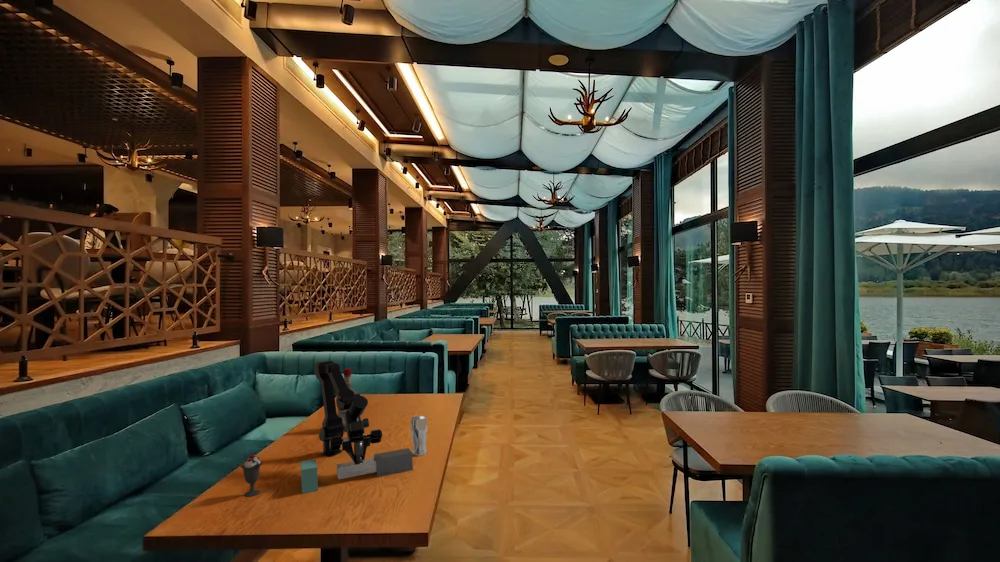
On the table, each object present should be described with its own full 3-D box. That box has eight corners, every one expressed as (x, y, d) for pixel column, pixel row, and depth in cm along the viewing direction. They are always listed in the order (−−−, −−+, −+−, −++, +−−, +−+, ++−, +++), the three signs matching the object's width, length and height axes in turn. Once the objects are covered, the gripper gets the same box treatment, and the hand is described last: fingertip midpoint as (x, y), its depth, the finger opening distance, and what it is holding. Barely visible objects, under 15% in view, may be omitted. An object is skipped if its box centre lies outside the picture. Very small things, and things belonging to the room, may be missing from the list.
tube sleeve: (409, 464, 182) (408, 448, 182) (412, 469, 176) (412, 452, 177) (374, 471, 176) (373, 454, 176) (377, 476, 171) (376, 459, 171)
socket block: (316, 480, 169) (315, 458, 169) (317, 490, 161) (317, 467, 161) (301, 483, 167) (300, 461, 167) (302, 493, 159) (301, 470, 159)
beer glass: (424, 456, 190) (423, 420, 190) (408, 456, 191) (407, 419, 192) (430, 450, 197) (429, 415, 197) (415, 450, 198) (414, 415, 198)
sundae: (248, 499, 155) (247, 454, 156) (237, 495, 159) (236, 451, 159) (267, 491, 161) (266, 448, 161) (256, 488, 164) (255, 445, 165)
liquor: (354, 431, 229) (353, 370, 230) (336, 431, 229) (334, 370, 230) (360, 425, 238) (359, 367, 239) (343, 426, 238) (341, 367, 239)
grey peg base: (404, 462, 180) (403, 432, 180) (407, 466, 177) (406, 435, 177) (337, 475, 170) (336, 443, 170) (338, 479, 166) (337, 447, 166)
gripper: (329, 415, 171) (333, 454, 161) (380, 408, 179) (387, 445, 169) (327, 431, 178) (331, 469, 168) (377, 423, 186) (383, 459, 176)
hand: (359, 460), depth 170 cm, fingers closed on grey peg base, 3 cm apart
